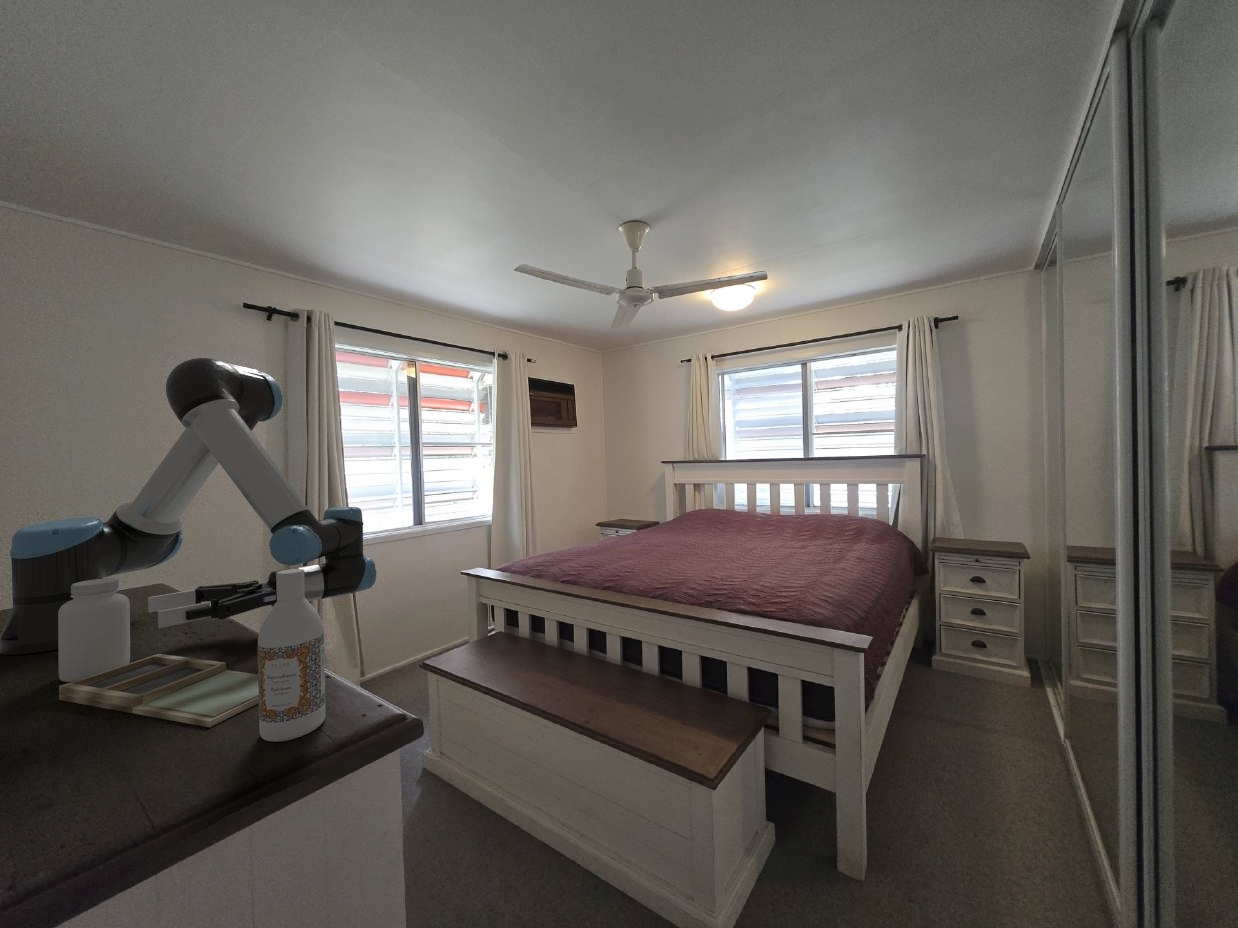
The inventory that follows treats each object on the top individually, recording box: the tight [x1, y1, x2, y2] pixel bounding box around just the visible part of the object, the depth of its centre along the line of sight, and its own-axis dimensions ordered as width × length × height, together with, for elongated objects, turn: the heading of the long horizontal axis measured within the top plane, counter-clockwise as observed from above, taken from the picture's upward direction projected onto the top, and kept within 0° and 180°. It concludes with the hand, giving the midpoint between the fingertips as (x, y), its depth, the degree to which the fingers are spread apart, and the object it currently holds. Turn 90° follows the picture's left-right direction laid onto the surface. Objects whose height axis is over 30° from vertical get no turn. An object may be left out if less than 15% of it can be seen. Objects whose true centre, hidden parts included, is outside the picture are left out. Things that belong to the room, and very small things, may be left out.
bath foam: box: [257, 568, 326, 743], centre depth 61 cm, size 7×7×20 cm
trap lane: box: [58, 653, 259, 728], centre depth 71 cm, size 30×12×2 cm, turn 74°
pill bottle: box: [57, 577, 131, 683], centre depth 79 cm, size 8×8×15 cm
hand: (152, 611), depth 83 cm, fingers open, 13 cm apart
